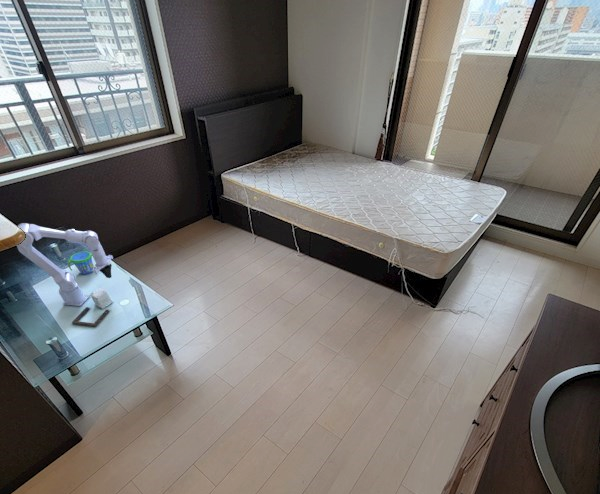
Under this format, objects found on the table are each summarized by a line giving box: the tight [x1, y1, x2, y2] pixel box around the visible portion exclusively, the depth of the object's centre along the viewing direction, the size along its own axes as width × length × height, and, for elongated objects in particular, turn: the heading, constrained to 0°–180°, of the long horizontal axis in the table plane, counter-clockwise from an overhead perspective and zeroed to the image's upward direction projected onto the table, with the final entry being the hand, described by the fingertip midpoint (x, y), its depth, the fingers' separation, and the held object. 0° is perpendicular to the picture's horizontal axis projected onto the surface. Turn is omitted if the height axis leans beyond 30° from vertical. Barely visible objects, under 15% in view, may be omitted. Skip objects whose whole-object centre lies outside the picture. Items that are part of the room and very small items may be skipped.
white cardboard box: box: [89, 288, 113, 310], centre depth 176 cm, size 6×6×7 cm
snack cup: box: [67, 251, 95, 275], centre depth 197 cm, size 16×10×10 cm
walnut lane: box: [71, 306, 110, 328], centre depth 170 cm, size 12×12×1 cm
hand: (109, 277), depth 180 cm, fingers closed
